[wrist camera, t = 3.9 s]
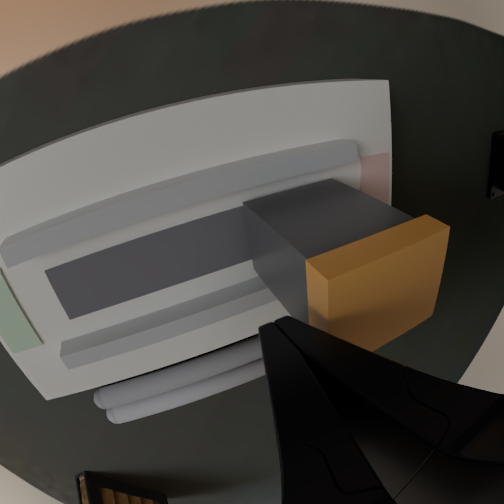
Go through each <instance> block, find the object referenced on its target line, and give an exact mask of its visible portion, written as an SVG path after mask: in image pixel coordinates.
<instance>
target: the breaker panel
mask: <svg viewBox="0 0 504 504" xmlns="http://www.w3.org/2000/svg"><path fill="white" fill-rule="evenodd" d="M331 178H333V179H335V180H337V181H339V182H341V183H344V184H346V185H348V186H350V187H352V188H355V189H357V190H359V191H361V192H363V193H365V194H367V195H369V196H372V197H374V198H376V199H378V200H380V201H382V202H384V203H386V204H388V205H390V206H391V192H392V136H391V110H390V94H389V81H388V80H374V79H334V80H319V81H306V82H296V83H286V84H277V85H269V86H262V87H255V88H248V89H242V90H235V91H230V92H224V93H218V94H213V95H208V96H203V97H198V98H193V99H189V100H184V101H180V102H176V103H171V104H167V105H163V106H159V107H155V108H152V109H148V110H144V111H140V112H137V113H133V114H130V115H126V116H123V117H120V118H117V119H113V120H110V121H107V122H104V123H101V124H98V125H95V126H92V127H89V128H86V129H83V130H80V131H78V132H75V133H72V134H69V135H67V136H64V137H62V138H59V139H56V140H54V141H51V142H49V143H46V144H44V145H41V146H39V147H37V148H34V149H32V150H30V151H27V152H25V153H23V154H21V155H18V156H16V157H14V158H12V159H10V160H8V161H6V162H3V163H1V164H0V341H1V343H2V344H3V346H4V347H5V349H6V350H7V351H8V353H9V354H10V355H11V357H12V358H13V360H14V361H15V362H16V363H17V365H18V366H19V367H20V369H21V370H22V371H23V373H24V374H25V375H26V376H27V378H28V379H29V380H30V381H31V383H32V384H33V385H34V386H35V387H36V389H37V390H38V391H39V392H40V393H41V394H42V396H43V397H44V398H45V399H46V400H50V399H54V398H58V397H62V396H66V395H70V394H73V393H77V392H81V391H85V390H88V389H92V388H96V387H99V386H103V385H106V384H110V383H113V382H117V381H120V380H123V379H127V378H130V377H133V376H137V375H140V374H143V373H146V372H149V371H153V370H156V369H159V368H162V367H165V366H168V365H171V364H174V363H177V362H180V361H183V360H186V359H189V358H192V357H195V356H198V355H200V354H203V353H206V352H209V351H212V350H215V349H217V348H220V347H223V346H226V345H228V344H231V343H234V342H236V341H239V340H242V339H244V338H247V337H250V336H252V335H255V334H257V333H259V332H258V327H259V326H261V325H264V324H266V323H269V322H274V321H275V320H276V319H279V318H281V317H284V316H291V315H290V314H289V313H288V312H287V310H286V309H285V308H284V307H283V305H282V304H281V303H280V302H279V300H278V299H277V298H276V297H275V295H274V294H273V293H272V292H271V290H270V289H269V288H268V286H267V285H266V284H265V283H264V281H263V280H262V279H261V278H260V276H259V275H258V274H257V273H256V271H255V270H254V268H253V262H252V256H251V250H250V244H249V238H248V232H247V227H246V221H245V215H244V209H243V203H242V202H245V201H249V200H252V199H256V198H259V197H263V196H267V195H270V194H274V193H277V192H281V191H285V190H289V189H292V188H296V187H300V186H304V185H307V184H311V183H315V182H319V181H323V180H327V179H331Z"/></svg>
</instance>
